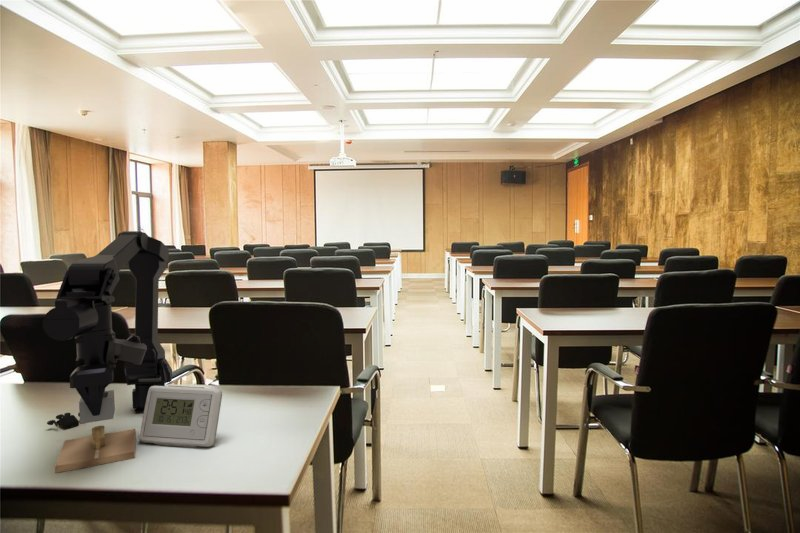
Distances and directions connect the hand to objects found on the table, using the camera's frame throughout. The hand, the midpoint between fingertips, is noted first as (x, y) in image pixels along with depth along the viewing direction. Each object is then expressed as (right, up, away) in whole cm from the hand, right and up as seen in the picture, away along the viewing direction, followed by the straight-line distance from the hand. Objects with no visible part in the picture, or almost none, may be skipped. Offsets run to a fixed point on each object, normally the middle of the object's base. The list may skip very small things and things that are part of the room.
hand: (97, 410), depth 90 cm
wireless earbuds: (-15, -8, +13) cm, 21 cm away
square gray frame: (0, -1, 0) cm, 1 cm away
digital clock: (+14, -8, +5) cm, 17 cm away
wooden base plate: (0, -8, 0) cm, 8 cm away
